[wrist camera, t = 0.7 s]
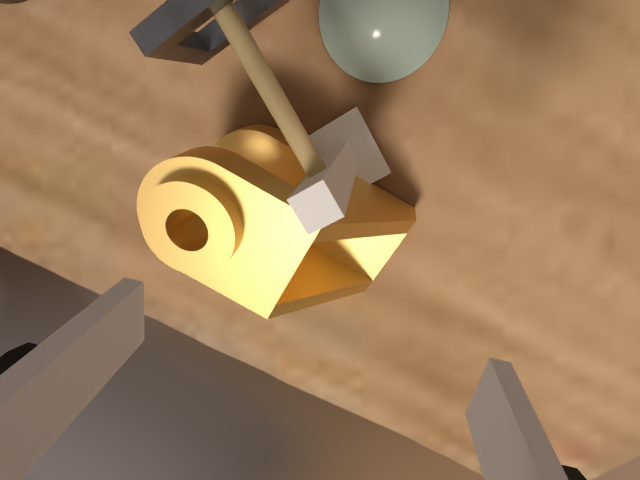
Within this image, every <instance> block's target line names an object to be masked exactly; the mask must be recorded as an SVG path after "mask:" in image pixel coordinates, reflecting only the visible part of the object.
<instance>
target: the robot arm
mask: <svg viewBox="0 0 640 480" xmlns="http://www.w3.org/2000/svg"><path fill="white" fill-rule="evenodd" d="M24 1H27V0H0V3H3V4H14V3H20V2H24ZM143 341H144V282H142V281H138V280H133V279H129V278H123V279H122V280H121V281H119V282H118V283H117V284H116V285H114V286H113V287H112V288H110V289H109V290H108V291H107V292H105V293H104V294H103V295H102V296H100V297H99V298H98V299H96V300H95V301H94V302H93V303H91V304H90V305H89V306H88V307H87V308H85V309H84V310H82V311H81V312H80V313H79V314H77V315H76V316H75V317H74V318H72V319H71V320H70V321H68V322H67V323H66V324H65V325H63V326H62V327H61V328H60V329H58V330H57V331H56V332H54V333H53V334H52V335H51V336H49V337H48V338H47V339H46V340H44V341H43V342H42V343H40V344H39V345H37V344H33V343H26V344H24V345H21V346H19V347H17V348H15V349H12V350H10V351H8V352H6V353H5V354H4V355H2V356H1V357H0V480H21V479H22V478H23V476H24V475H25V474H26V473H27V472H28V471H29V470H30V469H31V467H32V466H33V465H34V464H35V463H36V462H37V461H38V460H39V458H40V457H41V456H42V455H43V454H44V453H45V452H46V450H47V449H48V448H49V447H50V446H51V444H53V443H54V441H55V440H56V439H57V438H58V437H59V436H60V435H61V434H62V432H63V431H64V430H65V429H66V428H67V427H68V426H69V425H70V423H71V422H72V421H73V420H74V419H75V418H76V417H77V415H78V414H79V413H80V412H81V411H82V410H83V409H84V408H85V406H86V405H87V404H88V403H89V402H90V401H91V400H92V399H93V397H94V396H95V395H96V394H97V393H98V392H99V391H100V390H101V388H102V387H103V386H104V385H105V384H106V383H107V382H108V380H109V379H110V378H111V377H112V376H113V375H114V374H115V373H116V372H117V370H118V369H119V368H120V367H121V366H122V365H123V363H124V362H125V361H126V360H127V359H128V358H129V357H130V356H131V354H132V353H133V352H134V351H135V350H136V349H137V348H138V347H139V346H140V344H141V343H142V342H143ZM466 417H467V421H468V424H469V428H470V431H471V435H472V438H473V442H474V446H475V449H476V453H477V456H478V460H479V463H480V467H481V471H482V474H483V478H484V480H587V479H586V478H585V477H584V476H583V475H582V474H581V473H580V471H579V470H578V469H577V468H573V467H569V466H564V465H561V463H560V461H559V459H558V457H557V455H556V453H555V451H554V449H553V447H552V445H551V443H550V441H549V439H548V437H547V435H546V433H545V431H544V429H543V427H542V425H541V423H540V421H539V419H538V417H537V415H536V413H535V411H534V409H533V407H532V405H531V403H530V401H529V398H528V396H527V394H526V392H525V390H524V388H523V386H522V384H521V382H520V380H519V378H518V376H517V374H516V372H515V370H514V368H513V366H512V364H511V362H507V361H502V360H498V359H493V358H489V360H488V362H487V365H486V367H485V369H484V372H483V374H482V376H481V378H480V381H479V383H478V385H477V388H476V390H475V392H474V395H473V397H472V399H471V401H470V404H469V406H468V408H467V411H466Z"/></svg>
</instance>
